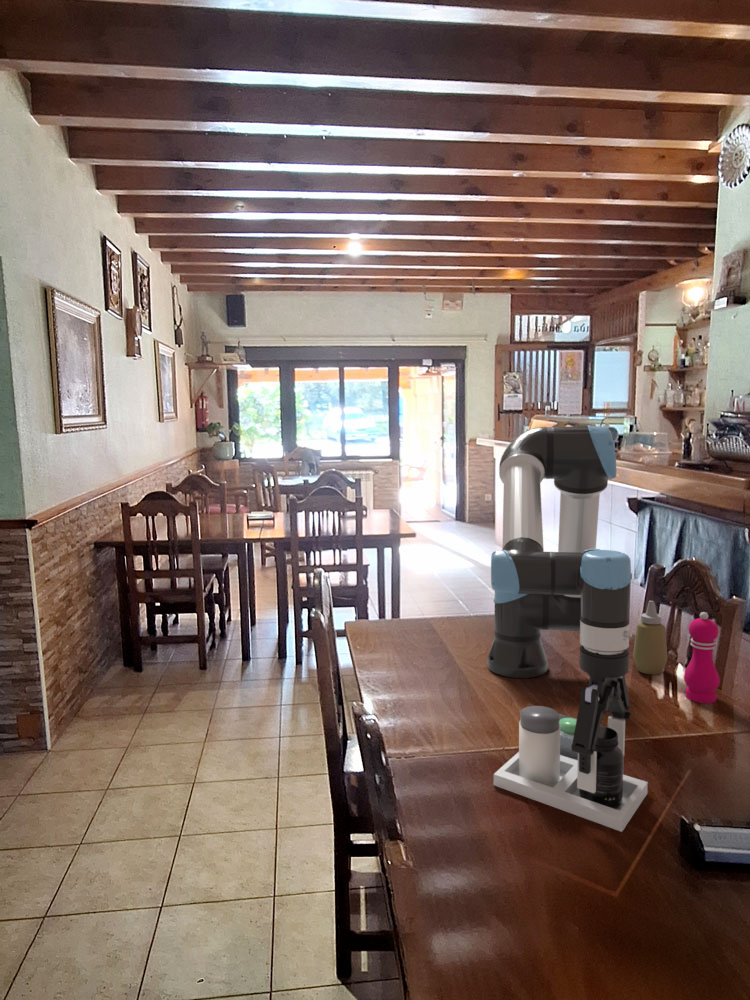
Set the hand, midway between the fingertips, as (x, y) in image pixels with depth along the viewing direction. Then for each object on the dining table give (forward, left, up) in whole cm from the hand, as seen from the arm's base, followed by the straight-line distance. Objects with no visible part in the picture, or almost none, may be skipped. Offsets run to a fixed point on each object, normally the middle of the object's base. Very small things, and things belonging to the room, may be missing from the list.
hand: (601, 771), depth 108 cm
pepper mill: (+4, +54, -6) cm, 54 cm away
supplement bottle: (0, 0, -5) cm, 5 cm away
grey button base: (-12, +15, -6) cm, 20 cm away
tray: (-6, 0, -6) cm, 8 cm away
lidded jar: (-11, 0, -5) cm, 12 cm away
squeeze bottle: (-10, +64, -6) cm, 65 cm away
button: (-11, +15, -4) cm, 19 cm away
